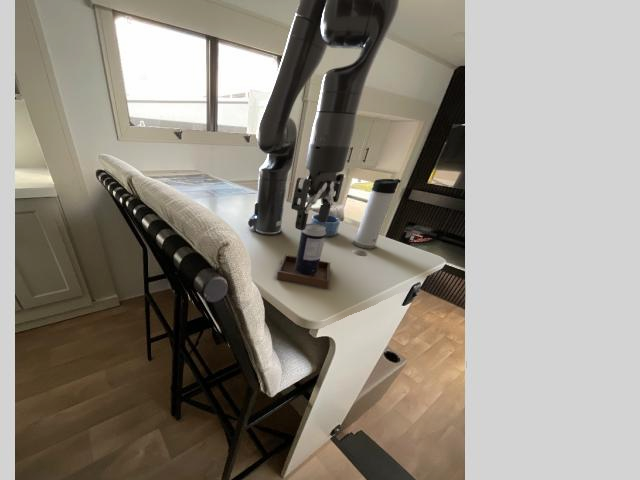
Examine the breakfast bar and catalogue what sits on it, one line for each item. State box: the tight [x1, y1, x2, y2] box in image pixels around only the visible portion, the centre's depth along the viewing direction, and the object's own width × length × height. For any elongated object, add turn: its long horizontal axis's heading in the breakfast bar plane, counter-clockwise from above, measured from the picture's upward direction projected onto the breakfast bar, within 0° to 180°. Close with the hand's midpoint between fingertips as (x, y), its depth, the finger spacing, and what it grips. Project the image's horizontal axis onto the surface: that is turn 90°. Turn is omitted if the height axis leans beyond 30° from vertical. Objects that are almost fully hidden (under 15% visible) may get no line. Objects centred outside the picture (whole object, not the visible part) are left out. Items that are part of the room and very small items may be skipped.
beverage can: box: [295, 222, 327, 276], centre depth 61 cm, size 6×6×12 cm
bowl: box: [310, 213, 341, 238], centre depth 89 cm, size 9×9×5 cm
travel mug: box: [353, 178, 402, 250], centre depth 76 cm, size 6×7×20 cm
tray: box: [276, 254, 331, 289], centre depth 65 cm, size 12×10×2 cm
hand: (311, 225), depth 58 cm, fingers open, 8 cm apart
